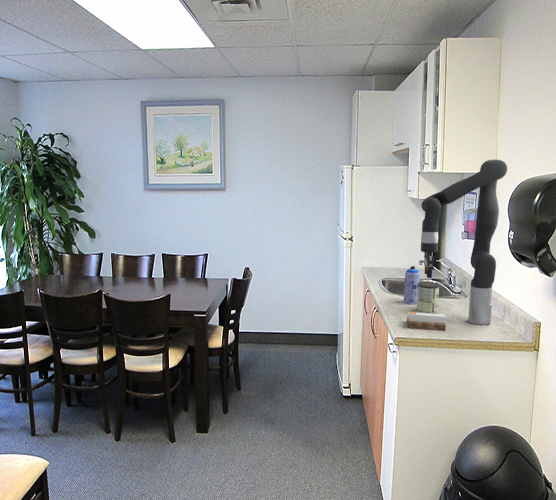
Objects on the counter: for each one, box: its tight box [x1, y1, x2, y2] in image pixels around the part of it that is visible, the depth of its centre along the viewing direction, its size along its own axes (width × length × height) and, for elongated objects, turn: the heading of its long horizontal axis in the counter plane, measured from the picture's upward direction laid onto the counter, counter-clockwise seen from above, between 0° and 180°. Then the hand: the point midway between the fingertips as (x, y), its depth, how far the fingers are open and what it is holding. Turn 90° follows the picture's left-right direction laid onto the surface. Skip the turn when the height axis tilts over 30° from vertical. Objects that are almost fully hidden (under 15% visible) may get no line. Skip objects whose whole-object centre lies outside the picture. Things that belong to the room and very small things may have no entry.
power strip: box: [407, 311, 447, 324], centre depth 219 cm, size 16×4×6 cm, turn 78°
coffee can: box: [416, 281, 440, 314], centre depth 243 cm, size 10×10×14 cm
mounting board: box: [406, 315, 447, 332], centre depth 220 cm, size 16×10×2 cm, turn 78°
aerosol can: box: [403, 265, 421, 306], centre depth 259 cm, size 8×8×20 cm
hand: (428, 276), depth 223 cm, fingers open, 8 cm apart
